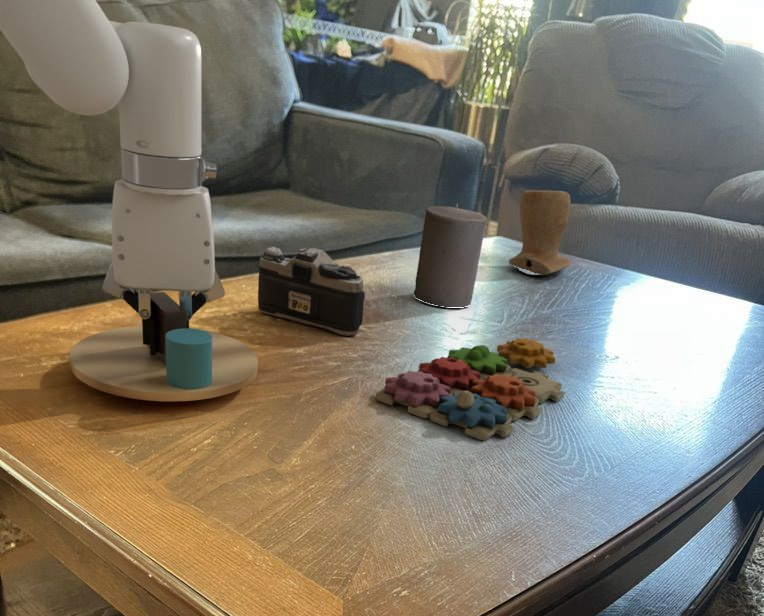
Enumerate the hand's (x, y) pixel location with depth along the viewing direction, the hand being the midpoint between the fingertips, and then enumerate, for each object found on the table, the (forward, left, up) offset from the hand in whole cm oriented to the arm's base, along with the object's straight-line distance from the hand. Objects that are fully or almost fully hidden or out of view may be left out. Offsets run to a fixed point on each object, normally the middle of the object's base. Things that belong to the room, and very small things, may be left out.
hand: (166, 349), depth 85 cm
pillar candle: (+44, +35, -3) cm, 56 cm away
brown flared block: (+71, +59, -3) cm, 92 cm away
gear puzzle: (+39, -1, -3) cm, 39 cm away
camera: (+21, +23, -3) cm, 31 cm away
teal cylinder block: (+2, -7, -1) cm, 7 cm away
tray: (0, 0, -2) cm, 2 cm away
